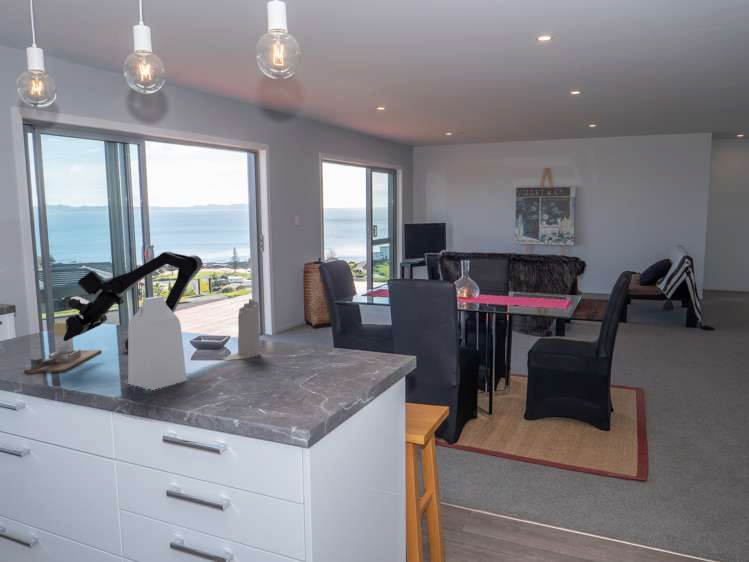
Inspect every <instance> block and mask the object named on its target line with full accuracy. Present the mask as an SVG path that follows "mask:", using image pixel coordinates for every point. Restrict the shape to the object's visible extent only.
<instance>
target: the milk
mask: <svg viewBox="0 0 749 562" xmlns="http://www.w3.org/2000/svg"><path fill="white" fill-rule="evenodd" d="M165 301H166V299H165V298H164V296H162V295H160V296H153V297H145V298H143V300H142V302H141V305H140V308H139V309H138V311H137V312H136V313H135V314H134V316H132V317H131V319H130V320H129V322H128V326H127V327H128V328H127V339H128V351H127V355H128V357H127V360H128V361H127V363H128V364H127V368H128V370H127V376H128V377H127V381H128V384H131V385H130V386H132V385H135V386H134V387H136V386H139V387H138V388H140V387H143V388H142V389H144V388H146V389H145V390H148V389H151V390H150V391H152V390H154V391H156V390H155V389H157V390H159V389H158V388H160V389H163V388H162V387H164V388H166V387H165V386H167V387H170V386H174V385H177V384H180V383H183V382H186V381H187V372H186V362H185V354H184V342H183V335H182V326H181V325H182V324H181V321H180V319H179V318H178V316H177V315H176V314H175V312H174V313H173V312H172V311H171V309H170V308H169V307H168V306H167V305H166V302H165ZM176 383H177V384H176ZM169 385H170V386H169Z"/></svg>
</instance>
